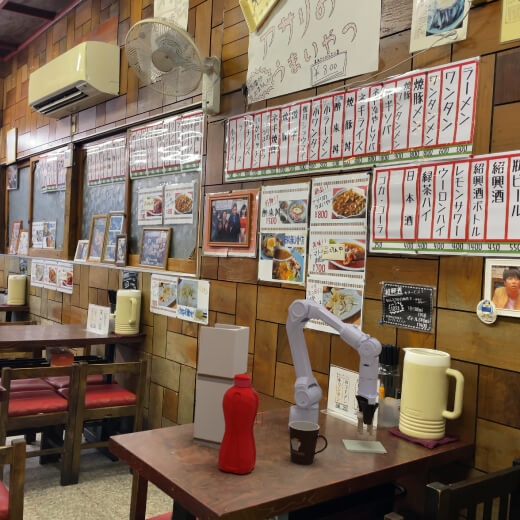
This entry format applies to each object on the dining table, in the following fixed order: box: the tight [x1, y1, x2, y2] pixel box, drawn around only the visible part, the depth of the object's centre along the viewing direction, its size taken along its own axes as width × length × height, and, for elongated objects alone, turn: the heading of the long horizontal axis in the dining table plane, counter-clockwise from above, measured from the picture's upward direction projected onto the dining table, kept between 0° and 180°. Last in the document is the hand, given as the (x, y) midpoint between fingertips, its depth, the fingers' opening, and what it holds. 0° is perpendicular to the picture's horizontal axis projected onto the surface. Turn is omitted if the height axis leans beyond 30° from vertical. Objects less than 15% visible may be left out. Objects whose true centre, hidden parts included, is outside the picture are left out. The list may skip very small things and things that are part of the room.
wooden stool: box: [356, 411, 375, 437], centre depth 168 cm, size 5×5×6 cm
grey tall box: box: [192, 323, 250, 450], centre depth 164 cm, size 11×11×35 cm
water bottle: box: [218, 374, 264, 475], centre depth 144 cm, size 9×11×25 cm
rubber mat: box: [341, 439, 388, 454], centre depth 168 cm, size 12×9×1 cm
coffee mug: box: [288, 421, 329, 466], centre depth 152 cm, size 12×9×10 cm
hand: (365, 421), depth 168 cm, fingers closed on wooden stool, 5 cm apart
